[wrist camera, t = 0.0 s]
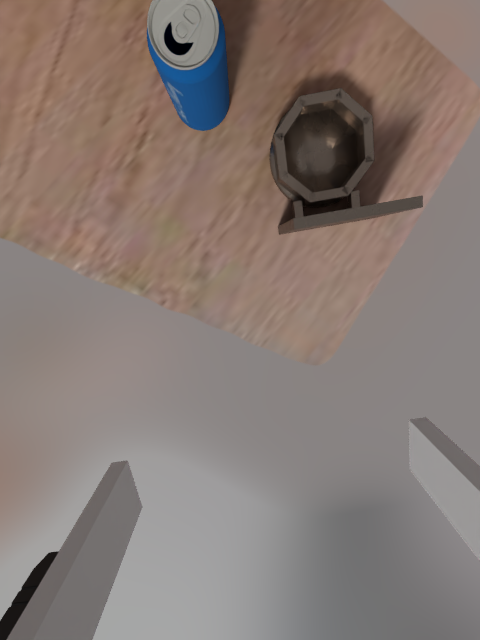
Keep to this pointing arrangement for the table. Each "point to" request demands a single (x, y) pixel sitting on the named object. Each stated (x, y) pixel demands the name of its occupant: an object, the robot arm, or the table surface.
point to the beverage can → (191, 59)
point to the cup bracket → (326, 160)
